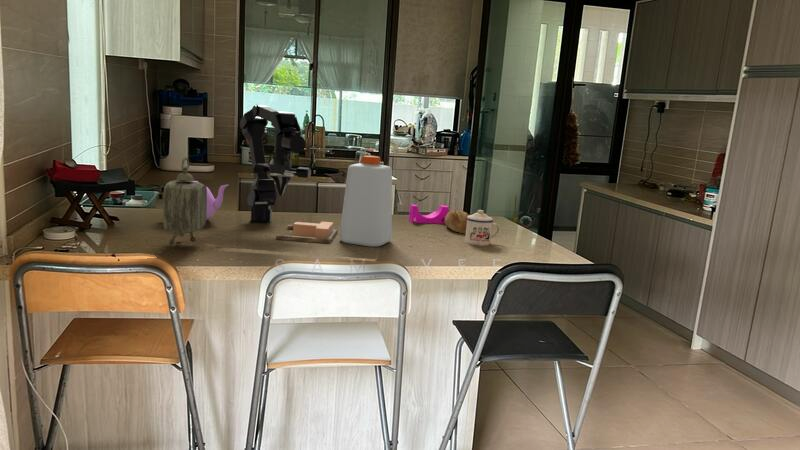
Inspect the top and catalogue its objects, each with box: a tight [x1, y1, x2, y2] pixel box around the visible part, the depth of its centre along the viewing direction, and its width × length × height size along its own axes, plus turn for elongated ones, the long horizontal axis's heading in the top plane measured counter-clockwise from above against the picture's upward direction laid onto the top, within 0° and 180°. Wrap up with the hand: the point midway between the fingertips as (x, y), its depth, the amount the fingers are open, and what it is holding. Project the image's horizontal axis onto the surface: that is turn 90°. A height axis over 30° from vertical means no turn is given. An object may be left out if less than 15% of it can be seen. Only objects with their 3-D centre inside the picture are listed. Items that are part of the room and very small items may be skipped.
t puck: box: [292, 221, 334, 239], centre depth 199 cm, size 12×12×4 cm
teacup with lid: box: [464, 209, 501, 247], centre depth 207 cm, size 12×9×12 cm
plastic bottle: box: [339, 155, 393, 248], centre depth 195 cm, size 15×15×28 cm
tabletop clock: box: [162, 157, 207, 246], centre depth 176 cm, size 14×9×25 cm, turn 5°
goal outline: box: [275, 224, 338, 244], centre depth 199 cm, size 17×18×1 cm
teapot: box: [192, 180, 229, 221], centre depth 210 cm, size 22×16×14 cm
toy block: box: [408, 204, 450, 224], centre depth 238 cm, size 15×6×8 cm, turn 106°
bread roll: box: [444, 209, 470, 234], centre depth 226 cm, size 10×15×8 cm, turn 13°
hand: (280, 195), depth 203 cm, fingers closed
